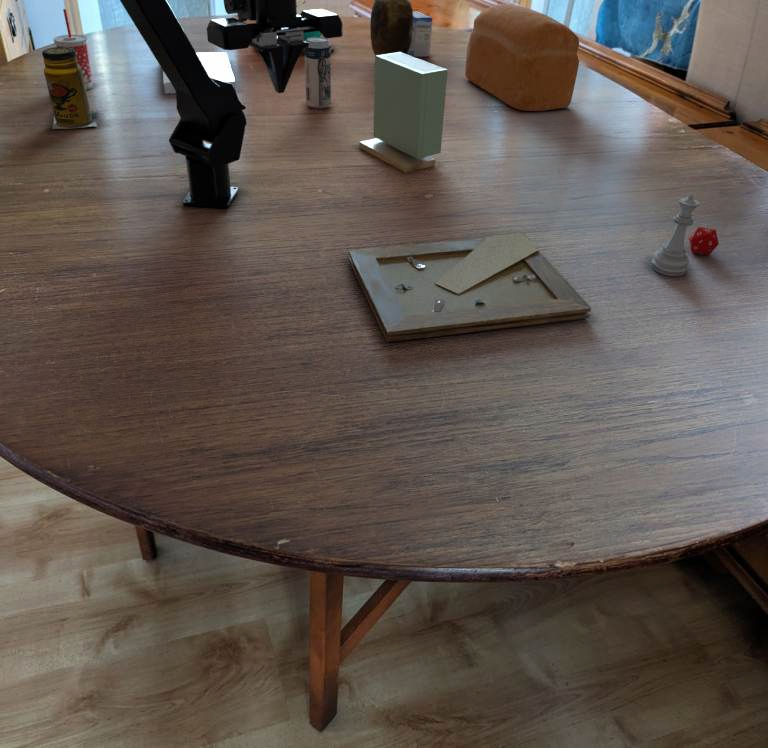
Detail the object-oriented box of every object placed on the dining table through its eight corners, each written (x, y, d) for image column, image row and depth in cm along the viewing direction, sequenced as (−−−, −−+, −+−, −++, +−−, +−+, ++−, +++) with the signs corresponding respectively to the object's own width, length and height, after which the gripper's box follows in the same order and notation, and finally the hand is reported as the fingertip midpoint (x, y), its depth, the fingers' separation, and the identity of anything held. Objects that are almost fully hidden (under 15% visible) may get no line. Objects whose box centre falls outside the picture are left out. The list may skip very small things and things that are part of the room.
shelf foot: (405, 172, 115) (405, 166, 114) (359, 147, 123) (359, 141, 122) (434, 165, 118) (435, 159, 117) (387, 141, 126) (387, 135, 125)
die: (727, 248, 96) (717, 219, 95) (715, 256, 94) (705, 226, 93) (701, 254, 98) (692, 227, 98) (689, 262, 96) (679, 234, 96)
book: (163, 63, 160) (162, 53, 159) (226, 61, 163) (226, 52, 162) (164, 93, 142) (163, 83, 141) (235, 91, 146) (235, 81, 144)
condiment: (52, 130, 124) (34, 55, 116) (54, 114, 130) (37, 43, 123) (97, 127, 126) (82, 54, 118) (97, 112, 132) (83, 41, 125)
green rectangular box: (416, 159, 115) (421, 73, 108) (373, 136, 123) (375, 55, 115) (440, 153, 118) (447, 69, 110) (396, 131, 125) (400, 51, 118)
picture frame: (522, 245, 96) (348, 261, 91) (524, 232, 95) (348, 248, 90) (588, 319, 82) (387, 343, 77) (591, 306, 81) (387, 329, 75)
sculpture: (415, 74, 161) (422, -27, 149) (378, 75, 159) (382, -28, 147) (399, 59, 171) (404, -38, 159) (364, 60, 169) (367, -38, 157)
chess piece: (652, 257, 95) (673, 184, 89) (687, 264, 94) (711, 191, 88) (649, 272, 92) (671, 197, 86) (685, 279, 90) (710, 204, 84)
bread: (515, 114, 141) (528, 26, 132) (459, 77, 160) (467, -2, 151) (576, 109, 145) (593, 23, 136) (514, 74, 165) (525, -3, 155)
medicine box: (399, 49, 178) (401, 11, 173) (415, 48, 180) (417, 10, 175) (413, 57, 173) (416, 17, 167) (430, 56, 174) (433, 17, 169)
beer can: (327, 110, 138) (326, 43, 131) (303, 108, 139) (301, 40, 132) (333, 103, 142) (333, 37, 135) (310, 100, 143) (308, 35, 135)
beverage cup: (97, 90, 143) (82, 12, 134) (64, 92, 141) (47, 13, 132) (95, 81, 147) (80, 5, 139) (63, 83, 145) (46, 6, 137)
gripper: (303, -41, 106) (306, 71, 116) (183, -34, 97) (196, 87, 107) (345, -29, 99) (344, 89, 109) (220, -20, 90) (231, 107, 100)
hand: (279, 92), depth 106 cm, fingers closed
